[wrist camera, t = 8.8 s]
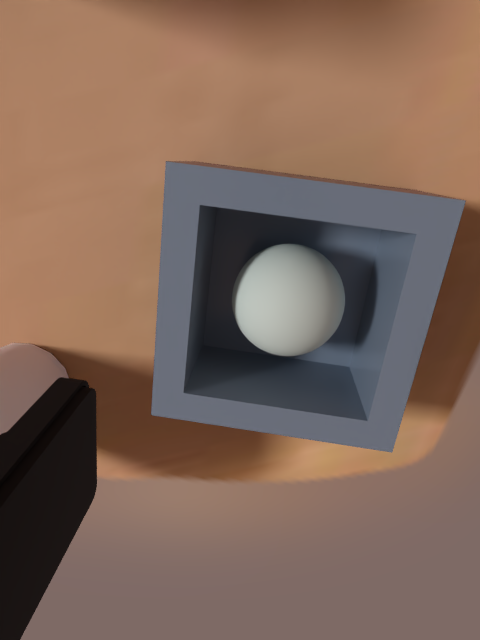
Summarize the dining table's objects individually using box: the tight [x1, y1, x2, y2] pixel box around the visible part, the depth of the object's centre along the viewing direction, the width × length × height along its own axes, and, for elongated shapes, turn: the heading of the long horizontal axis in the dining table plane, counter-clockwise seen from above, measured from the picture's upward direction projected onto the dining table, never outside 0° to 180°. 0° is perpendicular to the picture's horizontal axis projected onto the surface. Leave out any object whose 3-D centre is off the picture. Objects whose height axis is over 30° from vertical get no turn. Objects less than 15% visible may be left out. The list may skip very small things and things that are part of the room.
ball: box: [232, 244, 345, 356], centre depth 23 cm, size 6×6×6 cm
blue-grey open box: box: [151, 161, 466, 452], centre depth 24 cm, size 13×13×7 cm
